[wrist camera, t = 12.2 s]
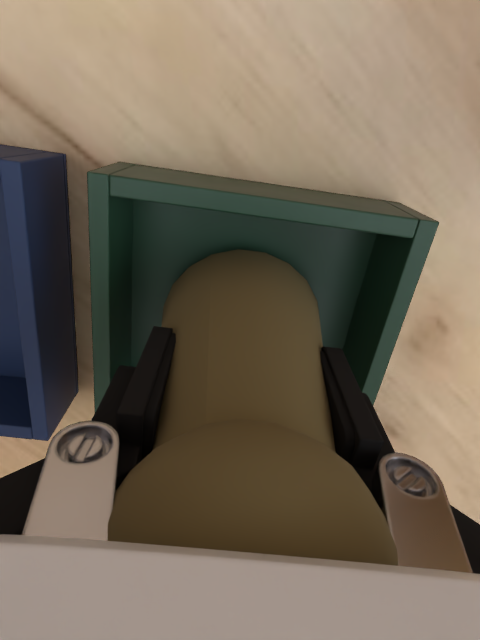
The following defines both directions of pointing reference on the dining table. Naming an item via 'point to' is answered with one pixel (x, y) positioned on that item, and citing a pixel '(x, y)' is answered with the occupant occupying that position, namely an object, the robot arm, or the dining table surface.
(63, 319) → the blue tote
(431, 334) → the dining table surface
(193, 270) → the brown pawn figure
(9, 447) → the dining table surface
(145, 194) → the green tote
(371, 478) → the robot arm
